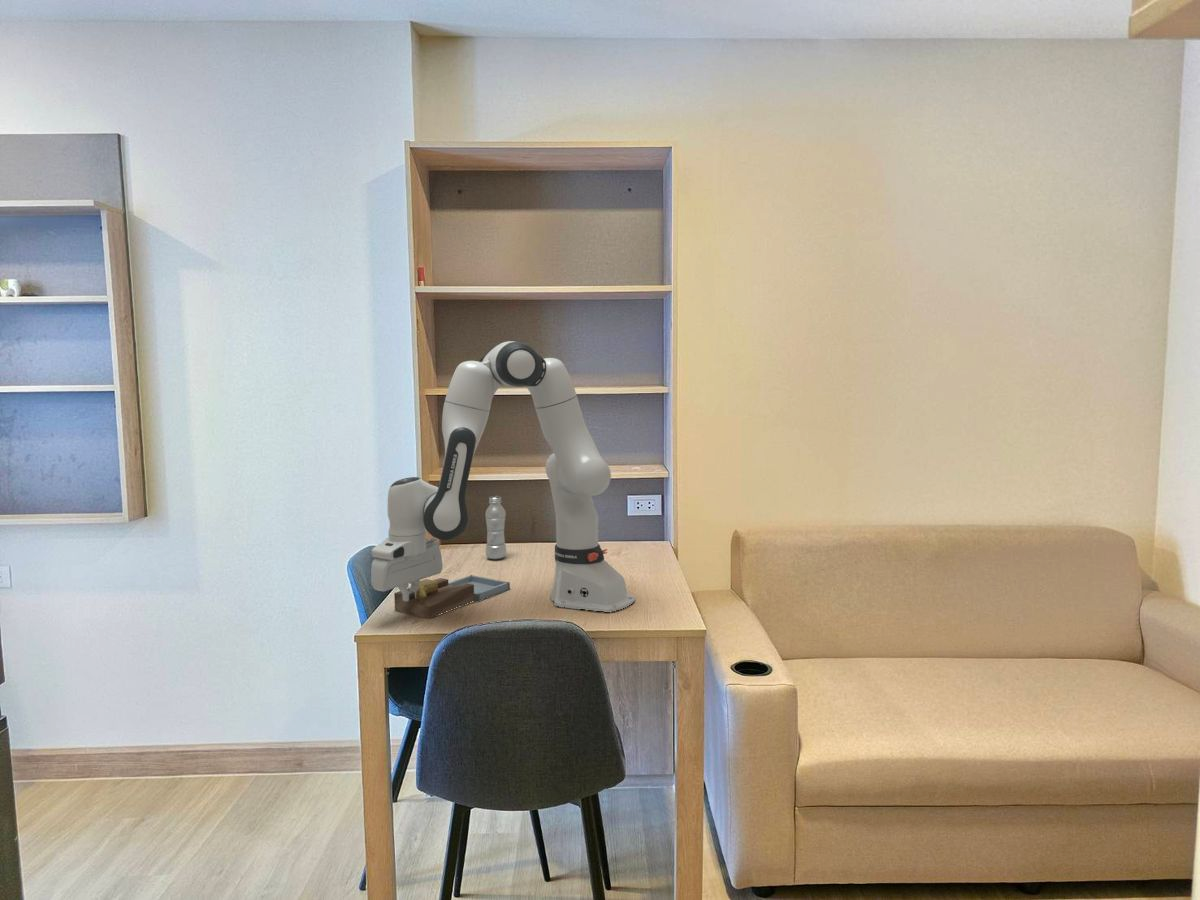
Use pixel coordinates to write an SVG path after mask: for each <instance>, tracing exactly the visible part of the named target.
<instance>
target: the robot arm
mask: <svg viewBox="0 0 1200 900" xmlns="http://www.w3.org/2000/svg"><path fill="white" fill-rule="evenodd" d="M501 387H508V388H512V387H516V388H519V387H520V388H521V387H522V388H523V387H524V388H526V389H527V390H528V392H529V393H530V395H531V397H532V402H533V406H534V409H535V412H536V415H537V419H538V422H539V425H540V428H541V432H542V435H543V438H544V439H545V440H546V441H547V443H548V445H549V446H550V448H551V451H552V452H553V453H552V454H550V456H549V457H548V458H547V459H546V462H545V473H546V476H547V478H548V482H549V485H550V491H551V496H552V497H551V498H552V501H553V505H554V512H555V513H554V514H555V532H556V533H555V539H556V542H555V545H554V560H555V574H554V581H553V585H552V586H553V587H552V591H551V594H550V600H551V601H552V602H554V604H553V605H554V607H557V606H559V607H558V608H564V607H565V608H566V609H572V610H574V609H575V610H580V609H585V610H584V611H588V610H594V611H593V612H596V611H604V612H610V611H615V612H617V611H616V610H619V611H621V610H620V609H622V610H624V609H626V608H628V607H630V606H631V605H630V604H632V603H633V602H634V601H635V602H636V596H635V595H633V594H630V593H628V592H627V585H626V581H625V578H624V576H623V575H621V573H619V572H618V571H617V570H616V569H615V568H613V566H612V565H610V564H609V563H608V561H606V560H605V556H604V555H605V554H607V553H608V552H607V551H608V548H605V549H602V548H601V545H600V544H599V515H598V512H597V510H596V508H595V507H596V506H595V505H594V500H593V497H595V496H598V495H601V494H603V493H604V492H605V491H606V490H607V489H608V488H609V486H610V483H611V478H612V473H611V469H610V467H609V465H608V463H606V461H605V460H604V458H603V456H601V454H600V452H599V449H598V448H597V445H596V443H595V441H594V439H593V437H592V435H591V433H590V431H589V429H588V427H587V425H586V422H585V419H584V416H583V412H582V409H581V406H580V402H579V398H578V395H577V392H576V390H575V386H574V383H573V381H572V379H571V376H570V374H569V372H568V370H567V368H566V366H565V364H564V363H563V362H562V360H560V359H559V358H555V357H546V358H544V357H543V356H542V355H540V354H539V353H538V352H537V351H536V350H535V348H533V347H532V346H530V345H529V344H527V343H526V342H522V341H513V340H512V341H511V340H508V341H504V342H501V343H498V344H495V345H493V346H492V347H491V348H489V350H488V351H487V352H486V353H485V354H484V355H483V356H482V357H481V358H480V359H479V360H477V361H476V360H466V361H462V362H461V363H459V364H458V365H457V366H456V368H455V370H454V373H453V375H452V377H451V379H450V383H449V385H448V388H447V391H446V394H445V397H444V403H443V408H442V415H441V431H442V436H443V442H444V459H443V463H442V464H443V465H442V469H441V474H440V477H439V478H440V479H439V483H438V486H436V485H433V484H430V483H428V482H426V481H425V480H423V479H422V478H421V477H418V476H412V477H404V478H400V479H398V480H396V481H394V482H393V483H392V484H391V485H390V486H389V489H388V493H387V518H388V520H389V529H388V537H387V538H385V539H384V540H383V541H382V542H381V543H379V544H377V545H375V546H374V547H373V548H372V549H371V556H372V557H374V559H373V560H372V563H371V568H370V574H371V576H370V580H371V587H372V588H373V589H374V590H375V591H379V592H387V591H389V590H393V589H396V588H398V590H399V591H401V593H402V596H403V601H409V600H412V599H415V598H416V592H417V589H418V587H419V585H420V581H421V580H425V579H428V578H430V577H432V576H436V575H439V574H441V573H442V570H443V559H442V551H441V549H440V542H439V540H443V541H446V540H448V541H449V540H451V539H454V538H457V537H458V536H460V535H461V534H462V533H463V532H464V531H465V529H466V527H467V525H468V521H469V516H468V514H469V513H468V509H467V506H466V493H467V492H466V491H467V486H468V482H469V481H468V480H469V477H470V473H471V472H470V471H471V467H472V462H473V459H474V457H475V454H476V453H475V452H476V450H477V448H478V445H479V443H480V441H481V438H482V436H483V433H484V432H485V429H486V425H487V422H488V419H489V415H490V410H491V405H492V401H493V398H494V396H495V394H496V392H497V391H498V389H499V388H501ZM427 532H428V533H429V535H431V536H432V537H429V538H427ZM409 584H410V586H409ZM408 588H410V590H409V591H408V590H407V589H408ZM635 602H634V603H635ZM634 603H633V604H634ZM633 604H632V605H633ZM629 605H630V606H629ZM627 606H628V607H627ZM625 607H626V608H625ZM623 608H624V609H623ZM604 612H603V613H604ZM610 613H611V612H610Z"/></svg>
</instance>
